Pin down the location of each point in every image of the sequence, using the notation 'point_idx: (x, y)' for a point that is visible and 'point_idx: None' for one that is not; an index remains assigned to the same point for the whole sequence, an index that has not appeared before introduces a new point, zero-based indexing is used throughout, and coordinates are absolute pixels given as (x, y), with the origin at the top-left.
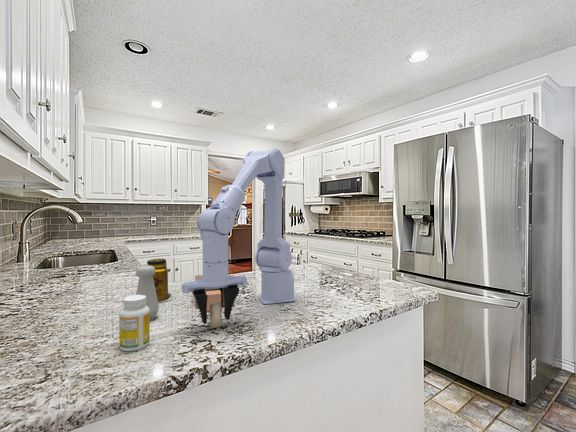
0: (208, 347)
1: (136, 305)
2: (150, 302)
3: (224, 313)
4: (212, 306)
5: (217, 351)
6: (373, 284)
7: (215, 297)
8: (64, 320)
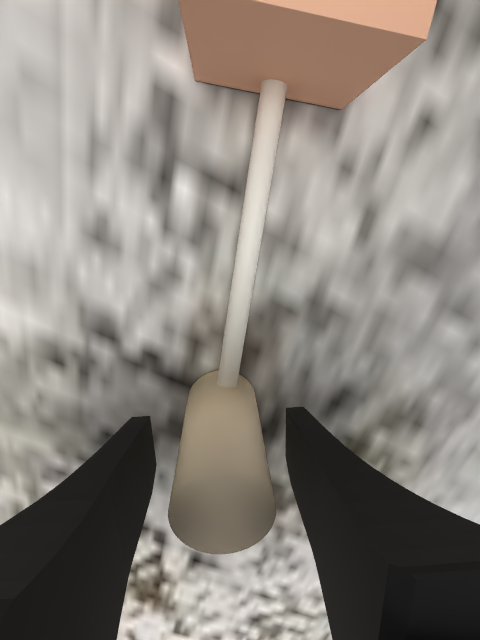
0: (146, 583)
1: None
2: None
3: (290, 424)
4: (186, 534)
5: (174, 616)
6: None
7: (331, 43)
8: None
